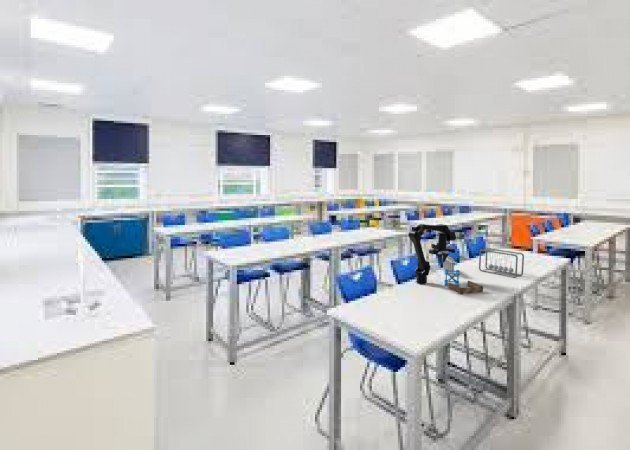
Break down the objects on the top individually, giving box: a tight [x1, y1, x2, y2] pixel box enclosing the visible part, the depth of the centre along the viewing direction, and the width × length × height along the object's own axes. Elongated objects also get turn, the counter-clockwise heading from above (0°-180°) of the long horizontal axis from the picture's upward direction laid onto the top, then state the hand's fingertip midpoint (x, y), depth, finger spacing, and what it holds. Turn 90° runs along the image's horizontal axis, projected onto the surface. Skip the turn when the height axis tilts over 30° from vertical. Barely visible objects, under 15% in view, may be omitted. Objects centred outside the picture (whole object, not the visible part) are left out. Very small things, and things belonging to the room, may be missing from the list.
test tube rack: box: [440, 255, 458, 278], centre depth 297 cm, size 25×4×13 cm, turn 179°
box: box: [447, 280, 484, 295], centre depth 250 cm, size 16×14×4 cm
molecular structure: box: [444, 269, 461, 287], centre depth 264 cm, size 10×10×10 cm
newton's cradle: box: [478, 247, 525, 279], centre depth 292 cm, size 30×10×18 cm, turn 35°
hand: (441, 262), depth 275 cm, fingers open, 2 cm apart
